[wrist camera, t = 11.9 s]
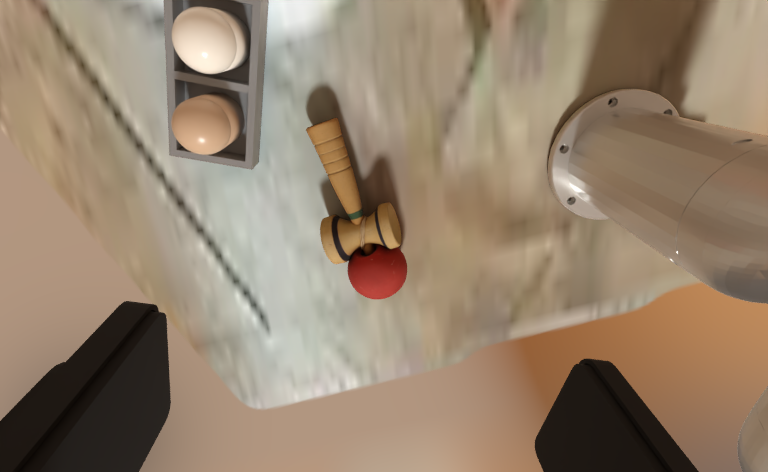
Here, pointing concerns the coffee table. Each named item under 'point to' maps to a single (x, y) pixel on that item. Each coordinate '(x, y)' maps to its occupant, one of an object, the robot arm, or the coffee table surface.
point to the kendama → (358, 223)
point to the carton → (217, 93)
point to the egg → (211, 39)
